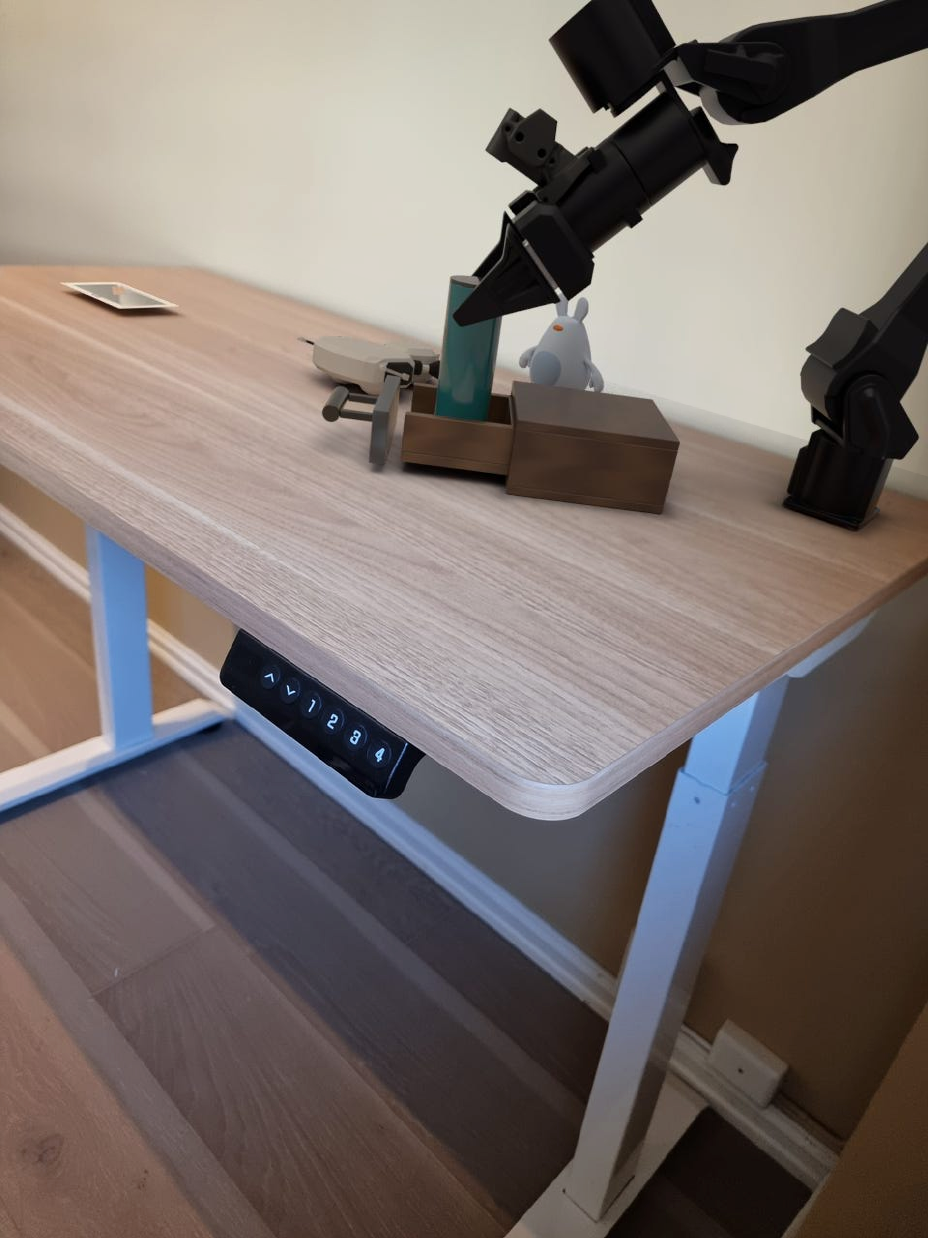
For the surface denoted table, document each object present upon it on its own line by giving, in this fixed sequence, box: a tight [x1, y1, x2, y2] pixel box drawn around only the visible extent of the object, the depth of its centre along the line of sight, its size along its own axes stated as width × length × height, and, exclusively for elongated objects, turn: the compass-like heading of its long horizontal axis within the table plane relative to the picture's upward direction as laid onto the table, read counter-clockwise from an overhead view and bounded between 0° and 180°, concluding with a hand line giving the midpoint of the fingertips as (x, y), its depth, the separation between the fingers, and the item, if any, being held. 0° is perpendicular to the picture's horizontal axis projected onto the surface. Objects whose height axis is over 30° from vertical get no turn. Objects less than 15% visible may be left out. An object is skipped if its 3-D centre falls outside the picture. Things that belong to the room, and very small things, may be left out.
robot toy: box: [296, 335, 441, 397], centre depth 92 cm, size 12×4×15 cm
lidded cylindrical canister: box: [434, 274, 504, 422], centre depth 70 cm, size 4×4×12 cm
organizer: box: [504, 380, 681, 515], centre depth 73 cm, size 12×12×6 cm
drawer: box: [321, 375, 516, 476], centre depth 73 cm, size 16×11×4 cm
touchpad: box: [60, 281, 180, 310], centre depth 111 cm, size 8×15×2 cm, turn 46°
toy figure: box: [518, 292, 605, 393], centre depth 88 cm, size 11×6×12 cm, turn 47°
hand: (457, 310), depth 69 cm, fingers open, 9 cm apart
